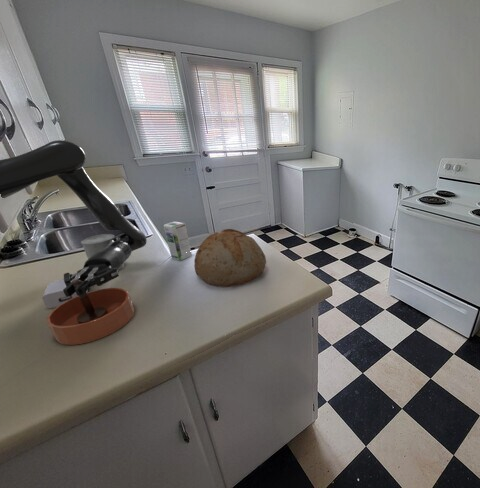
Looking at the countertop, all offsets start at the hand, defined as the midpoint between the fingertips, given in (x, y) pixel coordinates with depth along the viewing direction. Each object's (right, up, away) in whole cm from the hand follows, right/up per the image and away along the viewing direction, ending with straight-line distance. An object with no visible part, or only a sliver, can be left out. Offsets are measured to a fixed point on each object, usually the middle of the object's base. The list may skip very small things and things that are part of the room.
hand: (72, 292), depth 68 cm
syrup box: (+5, +7, +43) cm, 44 cm away
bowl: (+1, -9, +6) cm, 11 cm away
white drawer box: (-19, -4, +20) cm, 28 cm away
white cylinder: (-18, +3, +35) cm, 39 cm away
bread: (+29, +2, +32) cm, 44 cm away
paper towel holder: (-1, -8, +7) cm, 11 cm away
